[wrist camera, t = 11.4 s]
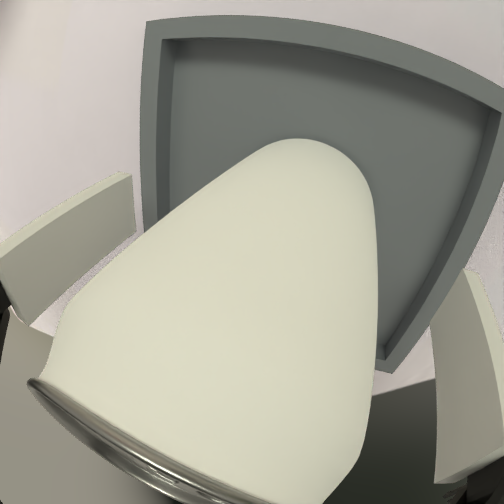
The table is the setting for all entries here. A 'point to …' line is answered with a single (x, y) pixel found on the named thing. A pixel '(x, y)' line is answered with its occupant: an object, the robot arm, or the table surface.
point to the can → (232, 337)
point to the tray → (332, 138)
